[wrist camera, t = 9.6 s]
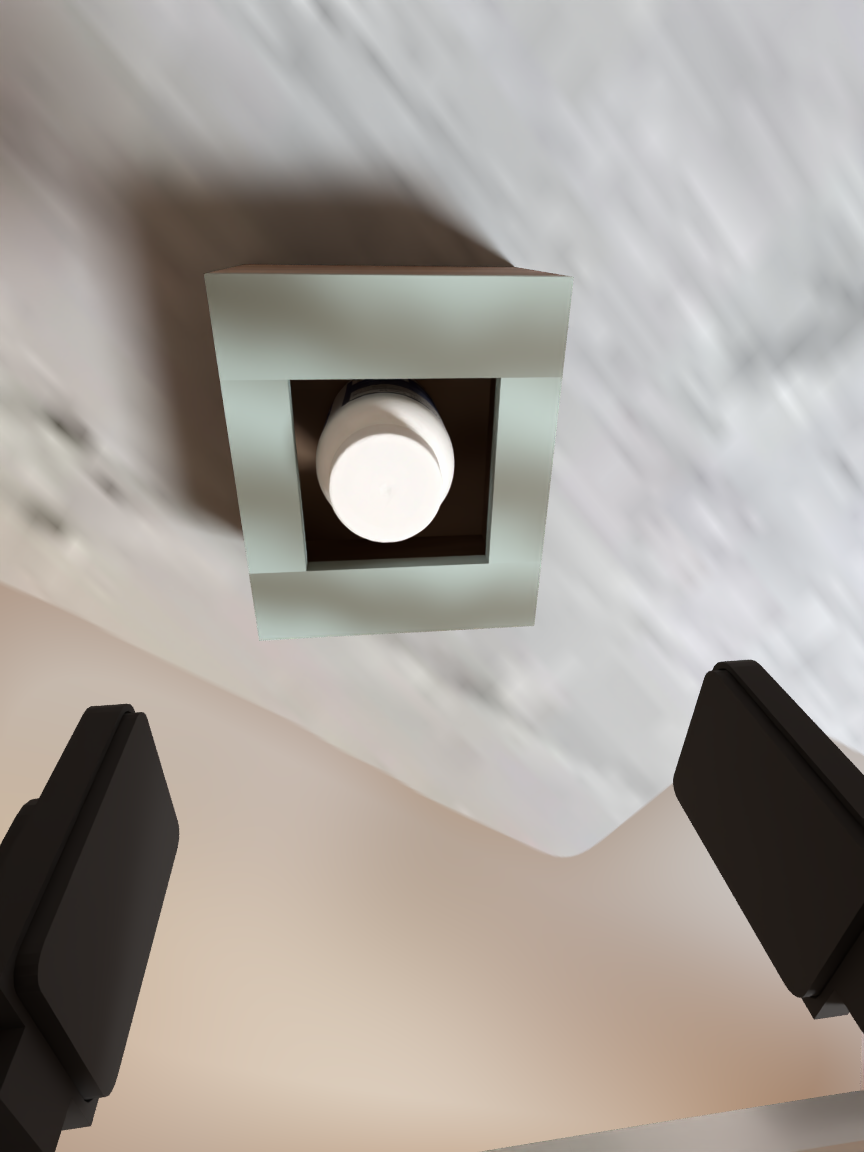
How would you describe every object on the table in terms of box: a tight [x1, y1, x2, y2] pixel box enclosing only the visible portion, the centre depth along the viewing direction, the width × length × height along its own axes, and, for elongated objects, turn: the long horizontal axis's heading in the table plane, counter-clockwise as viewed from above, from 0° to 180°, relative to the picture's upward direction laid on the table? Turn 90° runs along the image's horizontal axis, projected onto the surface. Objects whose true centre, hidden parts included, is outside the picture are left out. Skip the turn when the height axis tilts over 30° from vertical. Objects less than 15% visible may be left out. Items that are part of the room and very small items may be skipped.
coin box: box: [204, 264, 574, 641], centre depth 27 cm, size 14×12×8 cm
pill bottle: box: [316, 379, 454, 542], centre depth 25 cm, size 5×5×10 cm
